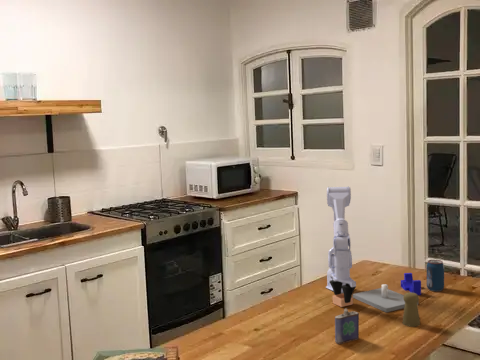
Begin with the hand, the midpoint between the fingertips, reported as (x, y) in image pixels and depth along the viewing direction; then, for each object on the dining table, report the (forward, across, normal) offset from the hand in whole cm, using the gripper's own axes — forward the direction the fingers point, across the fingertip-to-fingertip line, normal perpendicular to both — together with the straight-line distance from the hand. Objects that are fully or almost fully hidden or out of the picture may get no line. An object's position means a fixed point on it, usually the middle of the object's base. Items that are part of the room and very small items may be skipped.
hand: (342, 300), depth 219 cm
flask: (+2, +29, -20) cm, 35 cm away
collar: (+1, 0, 0) cm, 1 cm away
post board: (+2, +6, +16) cm, 17 cm away
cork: (+2, +29, +8) cm, 30 cm away
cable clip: (+2, +2, +33) cm, 34 cm away
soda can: (+2, +6, +43) cm, 43 cm away
